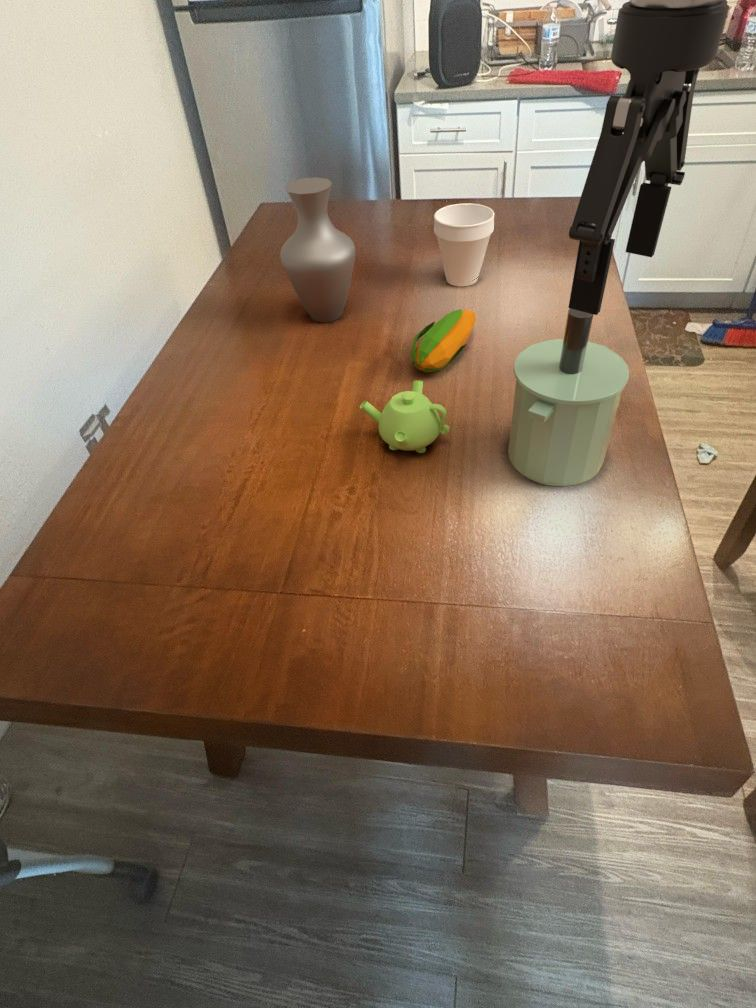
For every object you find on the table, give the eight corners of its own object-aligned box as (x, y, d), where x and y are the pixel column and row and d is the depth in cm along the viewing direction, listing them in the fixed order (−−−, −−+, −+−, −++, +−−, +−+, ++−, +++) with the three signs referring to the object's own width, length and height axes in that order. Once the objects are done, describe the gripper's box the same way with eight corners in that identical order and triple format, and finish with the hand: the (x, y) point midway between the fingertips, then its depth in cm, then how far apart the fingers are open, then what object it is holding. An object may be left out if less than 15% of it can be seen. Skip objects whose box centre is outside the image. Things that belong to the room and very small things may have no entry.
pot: (624, 436, 92) (648, 352, 82) (570, 511, 82) (589, 427, 72) (542, 407, 98) (554, 326, 88) (482, 474, 88) (488, 392, 78)
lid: (644, 365, 81) (662, 300, 74) (599, 422, 73) (615, 356, 67) (543, 336, 88) (552, 274, 81) (493, 386, 80) (498, 322, 73)
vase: (318, 340, 118) (297, 206, 100) (278, 315, 126) (252, 186, 108) (375, 314, 124) (365, 182, 106) (334, 291, 132) (318, 165, 114)
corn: (399, 337, 102) (455, 287, 113) (398, 374, 107) (452, 323, 119) (438, 350, 99) (491, 297, 110) (435, 388, 105) (486, 334, 116)
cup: (423, 275, 134) (422, 211, 125) (471, 262, 137) (474, 198, 128) (451, 297, 126) (452, 231, 116) (501, 283, 129) (506, 216, 120)
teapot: (460, 445, 93) (462, 400, 87) (398, 474, 90) (395, 429, 84) (420, 409, 100) (419, 365, 94) (360, 435, 97) (355, 391, 91)
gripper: (680, -26, 52) (625, 227, 67) (549, 27, 39) (517, 326, 54) (775, -26, 49) (695, 240, 64) (667, 31, 35) (598, 349, 51)
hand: (613, 280), depth 59 cm, fingers open, 13 cm apart
